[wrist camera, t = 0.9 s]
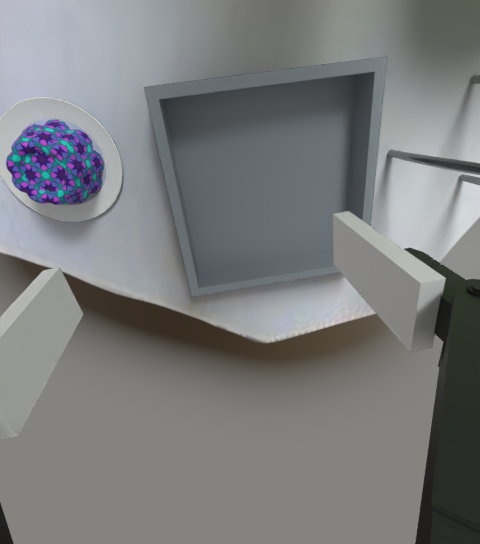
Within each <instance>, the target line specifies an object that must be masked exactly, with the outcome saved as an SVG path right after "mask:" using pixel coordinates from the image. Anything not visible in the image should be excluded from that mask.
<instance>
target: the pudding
mask: <svg viewBox="0 0 480 544" xmlns="http://www.w3.org/2000/svg"><path fill="white" fill-rule="evenodd" d="M47 118H52V119H60V120H65V121H67V122H70V123H73V124H74V125H76V126H78V127H80V128H81V129H82V130H84V131H85V132H86V133H88V134H89V136H90V137H91V138H92V139H93V140H94V141H95V142H96V144H97V145H98V147H99V148H100V150H101V152H102V154H103V157H104V160H105V166H106V178H105V182H104V185H103V187H102V189H101V191H100V192H99V193H98V195H96V196H95V197H94V198H93V199H91V200H90V201H88V202H85V203H82V204H77V205H65V204H73V203H81V202H83V201H85V200H86V199H87V197H88V194H90V193H96V192H97V191H98V190H99V189H100V188H101V184H102V180H101V178H100V175H99V174H100V173H101V172H102V170H103V169H104V163H103V160H102V157H101V155H100V154H99V153H97V152H96V151H94V150H93V145H92V141H91V139H90V138H89V137H88V135H87V134H85V133H84V132H82V131H81V130H71V129H70V128H69V127H68V126H67V125H66V124H65V123H64V122H61V121H58V120H50V121H48V122H47V123H46V124H45V125H44V126H40V125H36V124H34V125H32V126H29V127H28V128H27V129H26V130H25V131H24V132H23V133H22V131H23V130H24V129H25V128H26V127H27V126H28V125H30V124H31V123H33V122H35V121H38V120H41V119H47ZM21 133H22V134H21ZM20 134H21V135H20ZM122 173H123V171H122V164H121V159H120V156H119V152H118V150H117V148H116V145H115V143H114V141H113V139H112V138H111V137H110V135H109V134H108V132H107V131H106V129H105V128H104V127H103V126H102V125H101V124H100V123H99V122H98V121H97V120H96V119H95V118H94V117H93V116H91V115H90V114H89V113H88V112H86V111H84V110H83V109H81V108H79V107H78V106H76V105H74V104H71V103H69V102H66V101H64V100H60V99H55V98H48V97H36V98H29V99H26V100H23V101H20V102H18V103H16V104H15V105H13V106H12V107H10V108H8V110H7V111H6V112H5V113H4V114H3V115H2V116H1V118H0V175H1V177H2V179H3V181H4V182H5V184H6V185H7V187H8V188H9V189H10V191H11V192H12V193H13V194H14V195H15V196H16V197H17V198H18V199H19V200H20V201H21V202H23V203H24V204H25V205H26V206H28V207H29V208H31V209H32V210H34V211H36V212H37V213H40V214H42V215H44V216H46V217H49V218H52V219H55V220H60V221H67V222H79V221H85V220H89V219H92V218H95V217H97V216H99V215H100V214H102V213H104V212H105V211H106V210H107V209H108V208H110V207H111V205H112V204H113V203H114V201H115V200H116V198H117V196H118V194H119V192H120V188H121V184H122Z"/></svg>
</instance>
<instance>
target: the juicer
mask: <svg viewBox="0 0 480 544" xmlns="http://www.w3.org/2000/svg"><path fill="white" fill-rule="evenodd" d="M471 83H472V84H480V75H475V76H473V77H472V78H471ZM388 156H390V157H394V158H398V159H402V160H406V161H410V162H414V163H418V164H423V165H427V166H432V167H437V168H442V169H447V170H453V171H458V172H464V173H470V174H476V175H480V163H475V162H468V161H461V160H454V159H447V158H440V157H434V156H427V155H420V154H414V153H407V152H401V151H395V150H390V151H389V152H388ZM460 180H462V181H465V182H469V183H472V184H476V185H480V178H479V177H474V176H469V175H464V174H463V175H461V176H460Z"/></svg>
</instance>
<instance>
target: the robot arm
mask: <svg viewBox="0 0 480 544" xmlns="http://www.w3.org/2000/svg"><path fill="white" fill-rule="evenodd" d="M333 258H334V265H335V266H336V268H337V269H338V270H339V271H340V272H341V273H342V274H343V276H344V277H345V278H346V279H347V280H348V281H349V282H350V284H351V285H352V286H353V287H354V288H355V289H356V291H357V292H358V293H359V294H360V295H361V296H362V297H363V299H364V300H365V301H366V302H367V303H368V304H369V306H370V307H371V308H372V309H373V310H374V311H375V312H376V314H377V315H378V316H379V317H380V318H381V319H382V320H383V322H384V323H385V324H386V325H387V326H388V327H389V329H390V330H391V331H392V332H393V333H394V334H395V335H396V337H397V338H398V339H399V340H400V341H401V342H402V344H403V345H404V346H405V347H406V348H407V349H408V350H409V352H415V351H420V350H424V349H429V348H432V346H433V340H434V336H435V334H436V335H437V336H438V337H439V338H440V339H441V340H442V341H443V347H442V351H441V356H440V360H439V365H438V366H439V375H438V381H437V390H436V396H435V403H434V411H433V418H432V426H431V433H430V440H429V448H428V455H427V462H426V470H425V477H424V485H423V492H422V499H421V506H420V514H419V521H418V529H417V536H416V543H415V544H480V280H478V279H470V280H465V279H464V278H462V277H461V276H459V275H458V274H456V273H454V272H453V271H451V270H450V269H448V268H447V267H445V266H444V265H441V264H440V263H439V262H437V261H436V260H433V258H431V257H430V256H428V255H427V254H425V253H424V252H421V251H418V250H415V249H412V248H406V249H403V248H401V247H400V246H399V245H397V244H396V243H394V242H393V241H391V240H390V239H388V238H387V237H385V236H384V235H383V234H381V233H380V232H378V231H377V230H375V229H374V228H372V227H371V226H370V225H368V224H367V223H365V222H364V221H362V220H361V219H359V218H358V217H357V216H355V215H354V214H352V213H351V212H349V211H346V212H341V213H336V214H333ZM82 316H83V313H82V311H81V309H80V307H79V305H78V303H77V301H76V299H75V297H74V295H73V293H72V291H71V289H70V287H69V285H68V283H67V281H66V279H65V277H64V275H63V273H62V271H61V269H60V267H59V268H54V269H48V270H44V271H42V272H41V274H40V275H39V276H38V277H37V278H36V279H35V280H34V281H33V282H32V283H31V284H30V286H29V287H28V288H27V289H26V290H25V291H24V292H23V293H22V294H21V295H20V296H19V297H18V299H17V300H16V301H15V302H14V303H13V304H12V305H11V306H10V307H9V308H8V309H7V310H6V311H5V312H4V313H3V315H2V316H1V317H0V440H1V439H6V438H11V437H16V436H18V435H19V433H20V431H21V429H22V427H23V425H24V424H25V422H26V420H27V418H28V416H29V414H30V413H31V411H32V409H33V407H34V405H35V403H36V401H37V399H38V398H39V396H40V394H41V392H42V390H43V388H44V387H45V385H46V383H47V381H48V379H49V377H50V375H51V374H52V372H53V370H54V368H55V366H56V364H57V362H58V361H59V359H60V357H61V355H62V353H63V351H64V349H65V347H66V346H67V344H68V342H69V340H70V338H71V336H72V335H73V333H74V331H75V329H76V327H77V325H78V323H79V322H80V320H81V318H82ZM0 544H13V541H12V538H11V534H10V531H9V528H8V525H7V522H6V519H5V516H4V513H3V510H2V506H1V503H0Z"/></svg>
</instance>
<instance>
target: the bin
mask: <svg viewBox="0 0 480 544" xmlns="http://www.w3.org/2000/svg"><path fill="white" fill-rule="evenodd" d="M386 63H387V56H386V57H379V58H371V59H363V60H355V61H347V62H339V63H331V64H323V65H315V66H307V67H299V68H291V69H283V70H275V71H268V72H260V73H252V74H244V75H236V76H228V77H220V78H212V79H204V80H196V81H188V82H180V83H172V84H164V85H156V86H149V87H144V90H145V94H146V99H147V103H148V107H149V112H150V116H151V121H152V125H153V129H154V134H155V138H156V143H157V147H158V151H159V156H160V160H161V165H162V169H163V173H164V178H165V182H166V186H167V191H168V195H169V200H170V204H171V208H172V213H173V217H174V222H175V226H176V230H177V235H178V239H179V244H180V248H181V252H182V257H183V261H184V266H185V270H186V274H187V279H188V283H189V287H190V292H191V296H192V297H195V296H201V295H207V294H213V293H219V292H225V291H231V290H237V289H243V288H249V287H256V286H262V285H268V284H274V283H280V282H286V281H292V280H298V279H304V278H310V277H316V276H323V275H329V274H335V273H341V272H340V271H339V270H338V269H337V268H336V266H335V265H334V258H333V214H336V213H341V212H346V211H349V212H351V213H352V214H354V215H355V216H357V217H358V218H359V219H361V220H362V221H364V222H365V223H367V224H368V225H370V226H371V217H372V207H373V197H374V186H375V176H376V166H377V155H378V145H379V135H380V125H381V114H382V104H383V94H384V83H385V73H386Z"/></svg>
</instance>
